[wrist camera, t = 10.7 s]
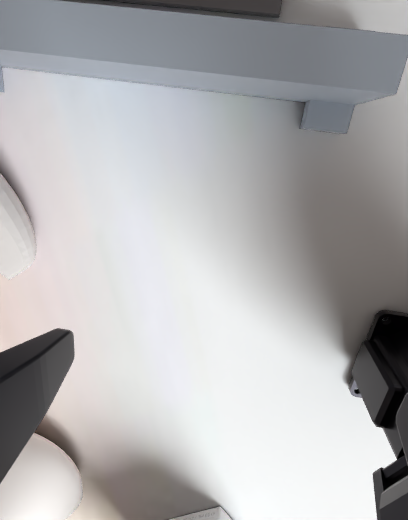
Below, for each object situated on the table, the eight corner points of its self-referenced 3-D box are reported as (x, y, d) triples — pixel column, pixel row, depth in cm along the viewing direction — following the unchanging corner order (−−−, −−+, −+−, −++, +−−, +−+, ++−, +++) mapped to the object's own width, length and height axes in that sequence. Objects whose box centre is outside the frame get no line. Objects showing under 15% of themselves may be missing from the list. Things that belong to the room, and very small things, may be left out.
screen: (364, 39, 14) (429, -14, 9) (339, 133, 16) (384, 133, 11) (-44, -2, 16) (-182, -67, 11) (-30, 88, 17) (-145, 68, 12)
